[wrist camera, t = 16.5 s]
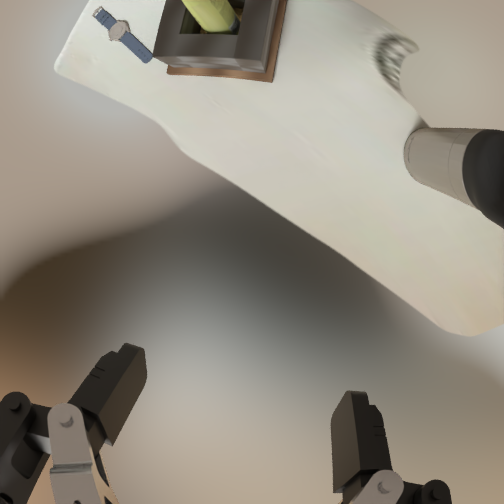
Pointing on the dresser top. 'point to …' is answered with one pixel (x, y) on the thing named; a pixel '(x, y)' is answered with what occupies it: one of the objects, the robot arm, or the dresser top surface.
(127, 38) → the wristwatch
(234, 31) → the tube
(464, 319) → the dresser top surface
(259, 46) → the socket
